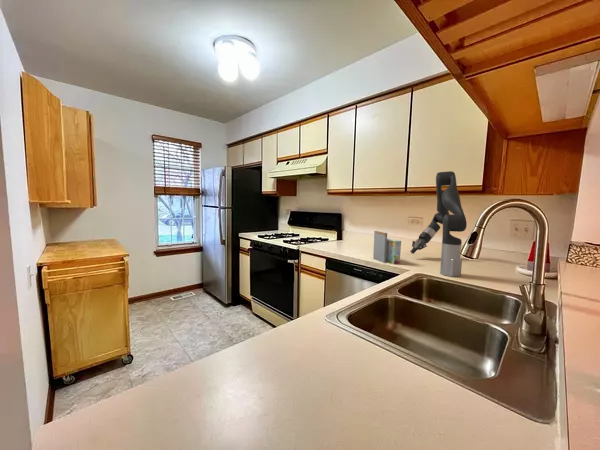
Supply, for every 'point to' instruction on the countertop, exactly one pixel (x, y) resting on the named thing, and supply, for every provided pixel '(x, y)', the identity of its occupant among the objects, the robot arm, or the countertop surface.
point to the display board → (380, 246)
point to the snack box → (393, 251)
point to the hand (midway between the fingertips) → (411, 252)
